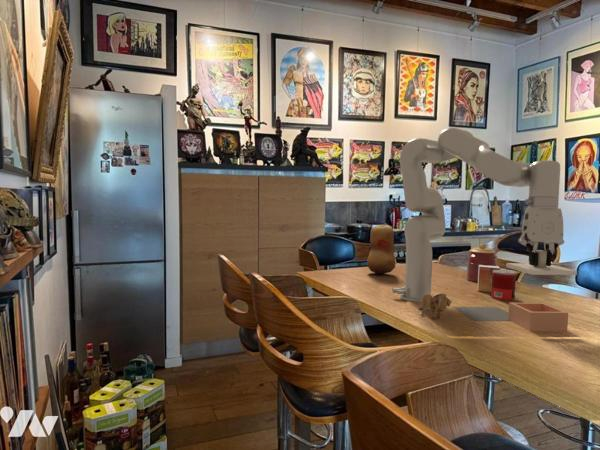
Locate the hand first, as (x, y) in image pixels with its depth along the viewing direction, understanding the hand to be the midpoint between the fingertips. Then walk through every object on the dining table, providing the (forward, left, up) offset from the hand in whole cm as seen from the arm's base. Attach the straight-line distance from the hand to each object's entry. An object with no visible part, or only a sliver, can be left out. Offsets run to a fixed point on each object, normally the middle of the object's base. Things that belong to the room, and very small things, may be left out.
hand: (539, 264), depth 119 cm
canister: (+18, +70, -19) cm, 75 cm away
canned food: (+8, +33, -19) cm, 39 cm away
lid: (0, 0, -2) cm, 2 cm away
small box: (+10, +48, -19) cm, 53 cm away
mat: (-9, +12, -19) cm, 24 cm away
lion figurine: (-28, +9, -19) cm, 35 cm away
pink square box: (0, 0, -19) cm, 19 cm away
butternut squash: (-27, +83, -19) cm, 89 cm away
